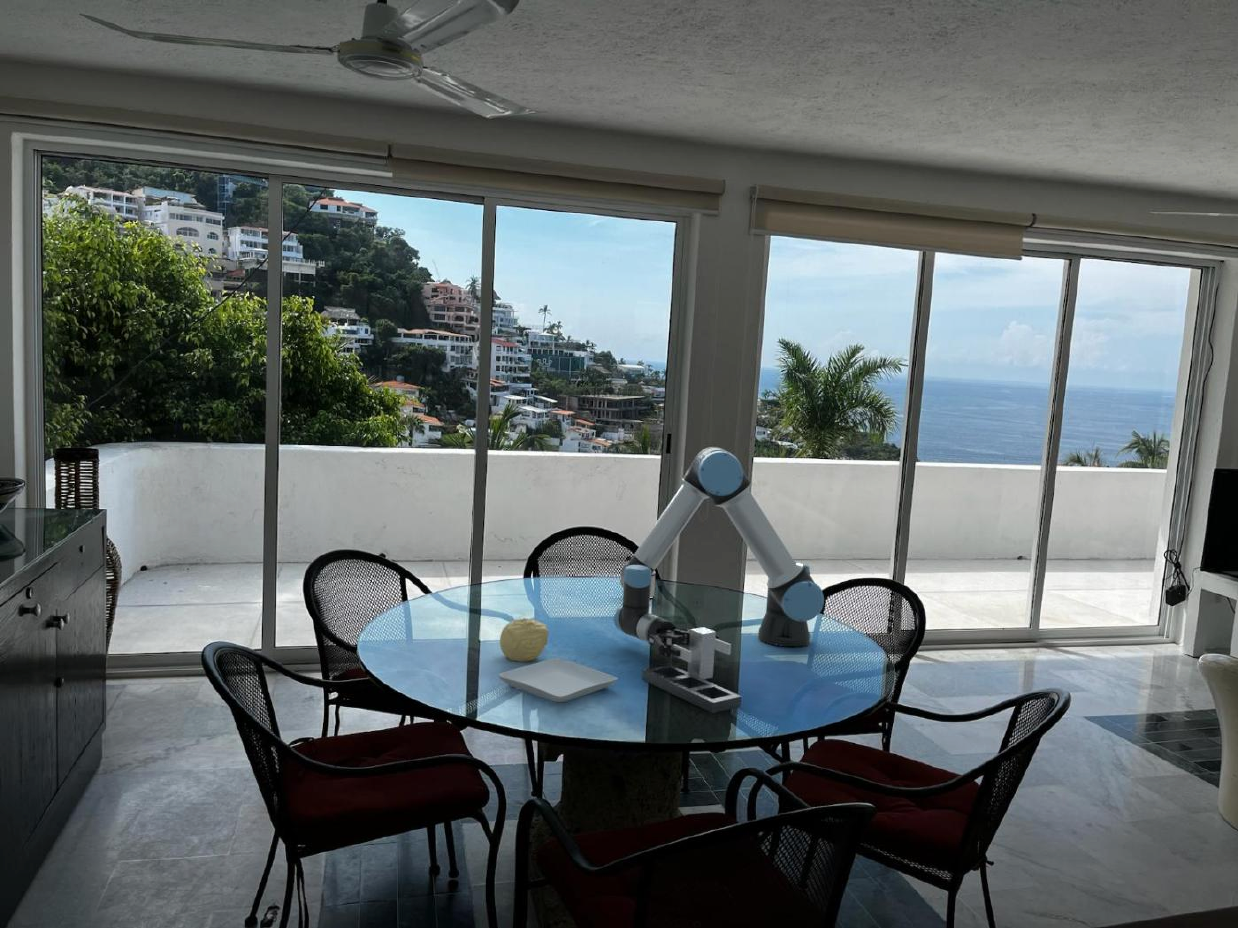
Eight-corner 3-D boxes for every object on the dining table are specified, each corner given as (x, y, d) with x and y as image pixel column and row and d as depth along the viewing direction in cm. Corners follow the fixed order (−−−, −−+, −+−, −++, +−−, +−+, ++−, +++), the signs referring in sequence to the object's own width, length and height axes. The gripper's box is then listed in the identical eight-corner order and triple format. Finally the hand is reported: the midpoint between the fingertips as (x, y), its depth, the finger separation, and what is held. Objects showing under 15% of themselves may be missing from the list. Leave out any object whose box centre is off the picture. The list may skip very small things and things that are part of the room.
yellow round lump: (514, 667, 241) (516, 626, 240) (491, 654, 251) (493, 614, 250) (552, 661, 248) (554, 621, 247) (529, 648, 257) (531, 610, 256)
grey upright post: (700, 672, 246) (703, 627, 245) (712, 677, 243) (715, 631, 241) (687, 674, 244) (690, 629, 242) (699, 680, 240) (702, 634, 239)
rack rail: (669, 673, 243) (670, 664, 243) (740, 706, 223) (741, 696, 223) (641, 679, 238) (642, 669, 238) (712, 713, 218) (713, 702, 217)
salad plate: (555, 668, 244) (556, 655, 243) (619, 690, 230) (620, 676, 230) (494, 687, 227) (495, 673, 227) (559, 711, 214) (560, 697, 213)
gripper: (690, 638, 265) (744, 660, 248) (619, 650, 250) (671, 674, 233) (692, 612, 264) (746, 632, 247) (621, 623, 249) (673, 645, 232)
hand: (710, 653), depth 240 cm, fingers open, 13 cm apart
